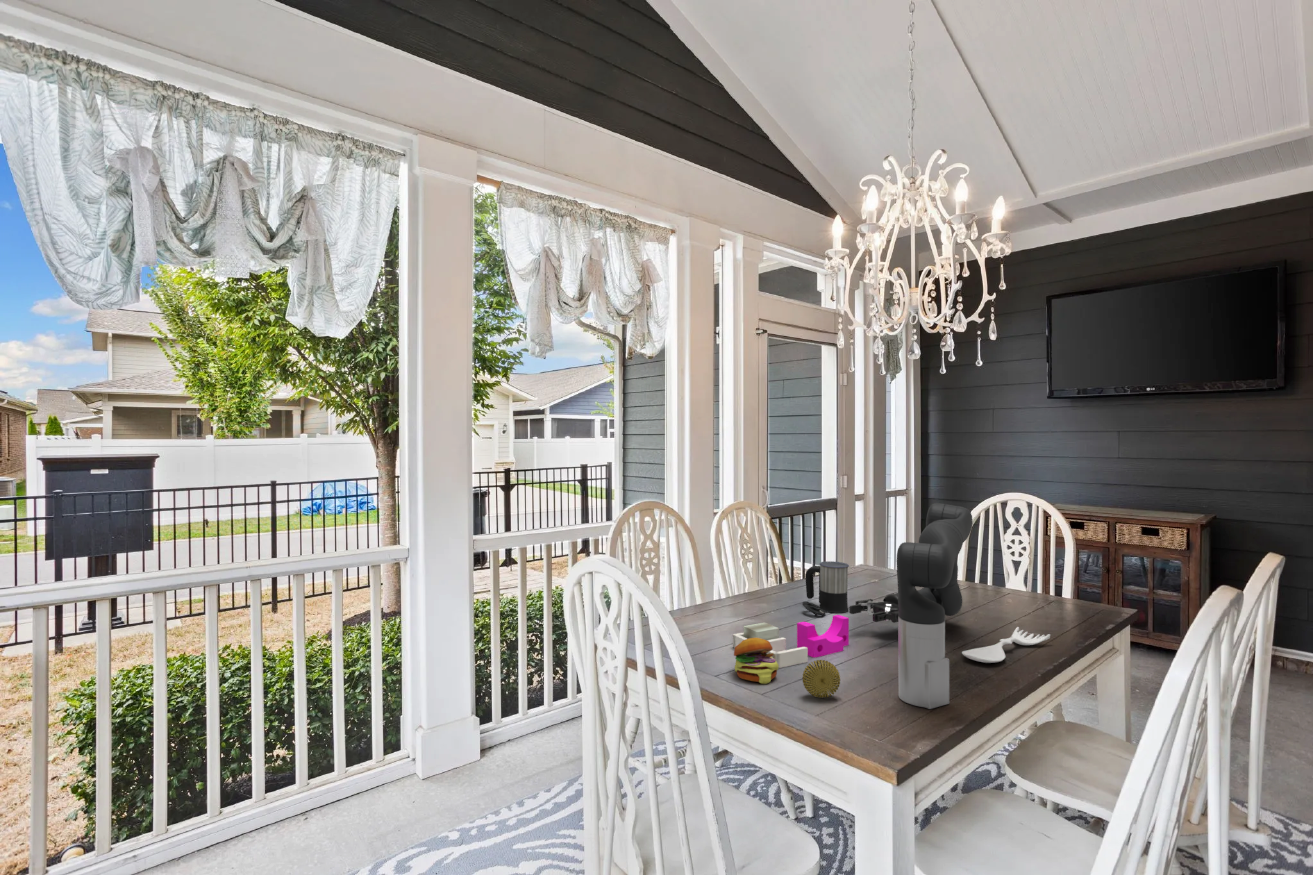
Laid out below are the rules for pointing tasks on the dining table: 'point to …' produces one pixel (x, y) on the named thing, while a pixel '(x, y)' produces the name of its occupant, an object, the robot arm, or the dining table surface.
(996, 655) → the white long tined part
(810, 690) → the sculpture
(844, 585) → the milk frother
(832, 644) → the toy block
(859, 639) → the dining table surface
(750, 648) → the cheeseburger
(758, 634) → the sage block
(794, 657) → the lane rack
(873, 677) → the dining table surface
